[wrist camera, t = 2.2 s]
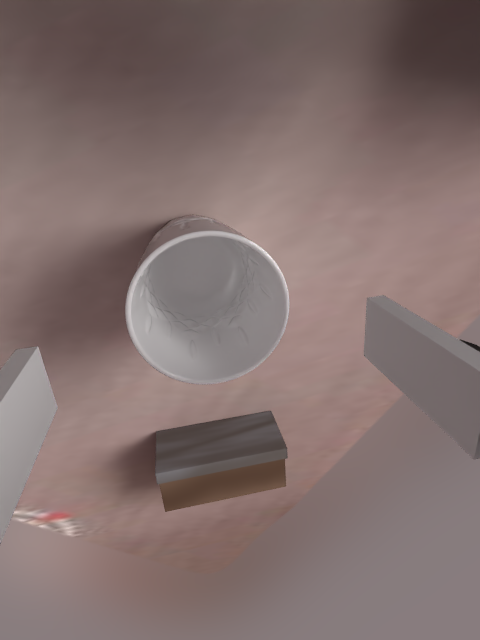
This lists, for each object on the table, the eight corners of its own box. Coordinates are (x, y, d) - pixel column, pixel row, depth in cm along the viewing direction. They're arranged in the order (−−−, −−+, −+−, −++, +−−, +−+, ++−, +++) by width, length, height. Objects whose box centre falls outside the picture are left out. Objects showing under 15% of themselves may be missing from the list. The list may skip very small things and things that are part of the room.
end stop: (156, 431, 32) (155, 474, 28) (271, 410, 34) (287, 448, 29) (165, 474, 34) (165, 520, 30) (273, 452, 36) (288, 493, 31)
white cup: (189, 333, 29) (202, 411, 20) (113, 257, 26) (87, 310, 17) (269, 267, 29) (319, 318, 19) (200, 180, 25) (221, 192, 16)
